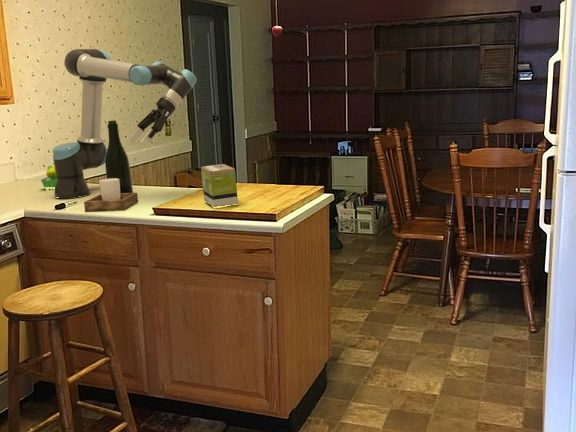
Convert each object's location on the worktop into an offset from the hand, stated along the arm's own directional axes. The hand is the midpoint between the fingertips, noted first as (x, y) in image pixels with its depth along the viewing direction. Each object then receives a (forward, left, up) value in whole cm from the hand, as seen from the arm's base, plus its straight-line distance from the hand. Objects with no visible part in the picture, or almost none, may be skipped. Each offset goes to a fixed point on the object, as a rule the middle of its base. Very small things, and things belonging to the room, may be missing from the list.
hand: (137, 142), depth 254 cm
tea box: (+35, -11, -25) cm, 44 cm away
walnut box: (-10, -8, -24) cm, 28 cm away
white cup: (-10, -8, -24) cm, 27 cm away
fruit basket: (-60, +44, -25) cm, 79 cm away
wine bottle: (-15, +15, -25) cm, 33 cm away
